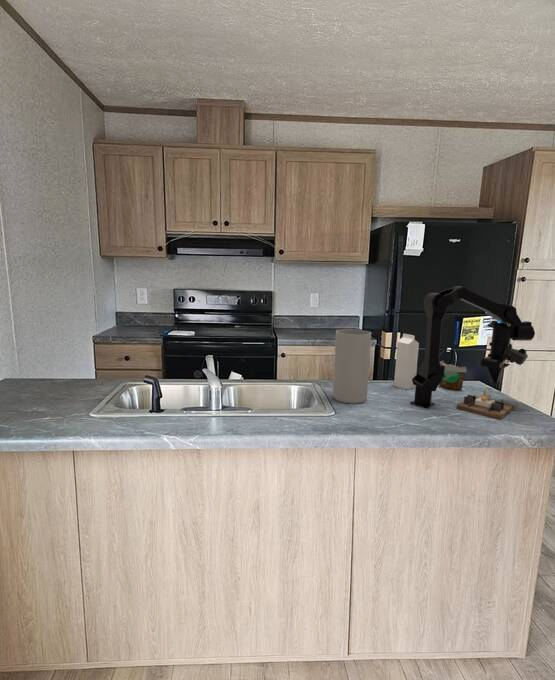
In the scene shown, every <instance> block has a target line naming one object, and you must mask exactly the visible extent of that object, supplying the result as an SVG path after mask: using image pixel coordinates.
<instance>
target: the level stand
mask: <svg viewBox="0 0 555 680" xmlns="http://www.w3.org/2000/svg"><path fill="white" fill-rule="evenodd" d="M482 396H483V395H481V396H479V395H475V394H474V395H472V394H467V396H466V395H465V396H464V398H463V400H462V401H461V402H459V403H457V404H456V409H457V410H460V411H465V412H468V413H472V414H476V415H480V416H483V417H487V418H491V419H496V420H502V419H504V417H506V416H507V415H509V414H510V413H511V412H513V410H515V409H516V404H515V403H509V402H505V401H504V398H502V399H500V400H496V399H494V400H495V403H492V406H491V407H489V408H487V407H483V406H479V405H475V400H476V399H478V398H479V397H482ZM491 400H493V399H492V398H491Z"/></svg>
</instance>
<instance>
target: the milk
mask: <svg viewBox="0 0 555 680" xmlns="http://www.w3.org/2000/svg"><path fill="white" fill-rule="evenodd" d="M419 346H420V343H419V342H418V340H416V339H415V335H413V334H407V333H403V334H402V337H401V338H399V340H397V343H396V355H395V368H394V369H395V370H394V381H393V387H395V386H396V387H395V388H398V387H399V389H401V388H402V389H401V390H404V389H407V390H411V388H413V389H415V388H416V386H415V385H414V384H413V382H412V379H413V378H414V377H415V376H416V375H417V372H418V371H417V370H418V359H419V350H420V349H419Z"/></svg>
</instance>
